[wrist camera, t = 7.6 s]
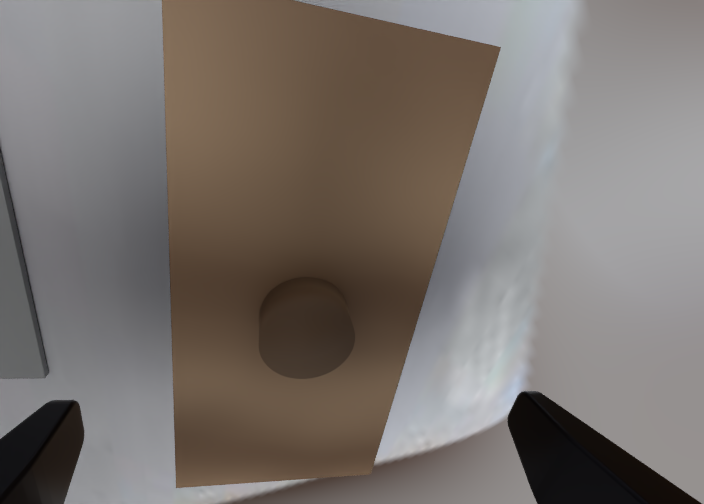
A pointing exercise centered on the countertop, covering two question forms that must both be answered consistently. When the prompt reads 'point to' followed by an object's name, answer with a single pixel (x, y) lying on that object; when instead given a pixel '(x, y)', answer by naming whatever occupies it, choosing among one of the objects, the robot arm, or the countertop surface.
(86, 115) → the countertop surface
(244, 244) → the walnut lid
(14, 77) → the countertop surface
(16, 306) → the rubber mat
